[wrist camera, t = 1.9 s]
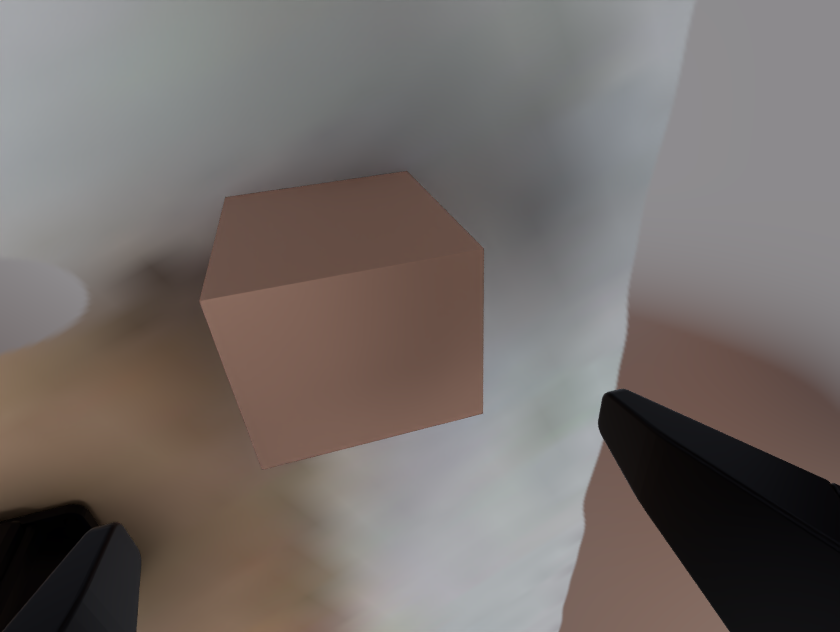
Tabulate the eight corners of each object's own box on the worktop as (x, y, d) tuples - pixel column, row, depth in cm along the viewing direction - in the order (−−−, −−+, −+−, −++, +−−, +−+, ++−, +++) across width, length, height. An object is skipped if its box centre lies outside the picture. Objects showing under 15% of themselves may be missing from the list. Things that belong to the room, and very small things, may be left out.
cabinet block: (418, 313, 19) (482, 433, 14) (268, 343, 18) (269, 490, 12) (406, 170, 16) (483, 248, 10) (225, 197, 15) (199, 300, 9)
